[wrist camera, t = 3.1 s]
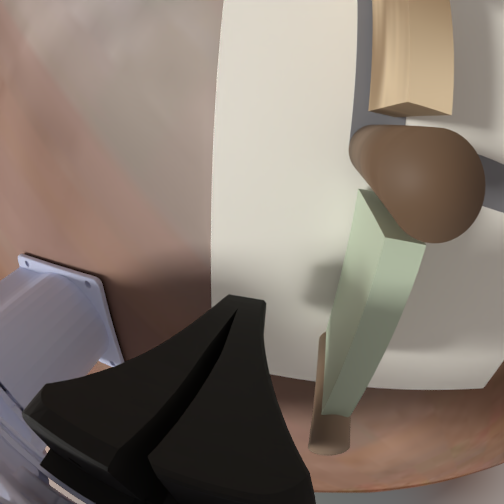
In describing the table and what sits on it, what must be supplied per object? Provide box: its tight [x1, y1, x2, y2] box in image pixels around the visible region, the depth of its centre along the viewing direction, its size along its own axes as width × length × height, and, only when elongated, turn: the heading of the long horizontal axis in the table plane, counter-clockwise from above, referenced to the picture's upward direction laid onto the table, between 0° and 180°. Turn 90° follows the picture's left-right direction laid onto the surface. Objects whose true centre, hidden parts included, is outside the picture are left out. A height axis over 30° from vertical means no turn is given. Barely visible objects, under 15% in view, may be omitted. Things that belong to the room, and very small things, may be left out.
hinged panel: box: [308, 189, 426, 455], centre depth 9 cm, size 8×1×6 cm, turn 176°
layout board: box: [211, 0, 504, 390], centre depth 9 cm, size 18×24×1 cm
